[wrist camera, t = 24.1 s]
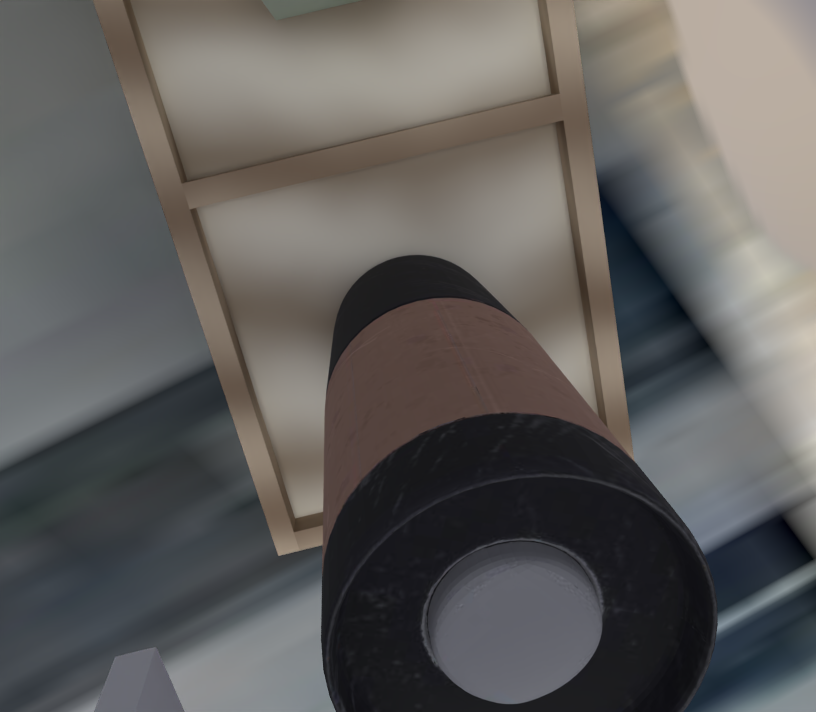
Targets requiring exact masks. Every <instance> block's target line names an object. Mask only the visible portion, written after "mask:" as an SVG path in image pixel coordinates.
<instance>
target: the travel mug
mask: <svg viewBox="0 0 816 712" xmlns="http://www.w3.org/2000/svg"><path fill="white" fill-rule="evenodd" d="M716 632H717V599H716V593H715V587H714V581H713V578H712V575H711V572H710V569H709V566H708V563H707V561H706V558H705V556H704V554H703V552H702V550H701V549H700V547H699V545H698V543H697V541H696V540H695V538H694V536H693V534H692V533H691V531H690V530H689V528H688V527H687V526H686V525H685V523H684V522H683V521H682V519H681V518H680V517H679V516H678V514H677V513H676V512H675V511H674V509H673V508H672V507H671V506H670V504H669V503H668V502H667V501H666V499H665V498H664V497H663V496H662V495H661V493H660V492H659V491H658V490H657V488H656V487H655V486H654V485H653V483H652V482H651V481H650V480H649V479H648V477H647V476H646V475H645V474H644V472H643V471H642V470H641V469H640V467H639V466H638V465H637V464H636V463H635V461H634V460H633V459H632V458H631V456H630V455H629V454H628V453H627V451H626V450H625V449H624V448H623V447H622V445H621V444H620V443H619V442H618V440H617V439H616V438H615V437H614V435H613V434H612V433H611V432H610V431H609V429H608V428H607V427H606V426H605V424H604V423H603V422H602V421H601V419H600V418H599V417H598V416H597V415H596V413H595V412H594V411H593V410H592V408H591V407H590V406H589V405H588V403H587V402H586V401H585V400H584V398H583V397H582V396H581V395H580V394H579V392H578V391H577V390H576V389H575V387H574V386H573V385H572V384H571V382H570V381H569V380H568V379H567V378H566V376H565V375H564V374H563V373H562V371H561V370H560V369H559V368H558V366H557V365H556V364H555V363H554V362H553V360H552V359H551V358H550V357H549V355H548V354H547V353H546V352H545V350H544V349H543V348H542V347H541V345H540V344H539V343H538V342H537V341H536V339H535V338H534V337H533V336H532V334H531V333H530V332H529V331H528V330H527V329H526V328H525V327H524V326H523V325H522V324H521V323H520V322H519V321H518V320H517V319H516V318H515V317H514V316H513V315H512V314H511V313H510V312H509V311H508V310H507V309H506V308H505V307H504V306H503V305H502V304H501V303H500V302H499V301H498V300H497V299H496V298H495V297H494V296H493V295H492V294H491V293H490V292H489V291H488V290H487V289H486V288H485V287H484V286H483V285H482V284H480V283H479V282H478V281H477V280H476V279H475V278H474V277H473V276H472V275H471V274H469V273H468V272H467V271H465V270H464V269H463V268H461V267H459V266H457V265H456V264H454V263H452V262H450V261H447V260H444V259H442V258H438V257H433V256H427V255H407V256H402V257H397V258H393V259H390V260H387V261H385V262H383V263H380V264H378V265H376V266H375V267H373V268H372V269H370V270H368V271H367V272H366V273H365V274H363V275H362V276H361V277H360V278H359V279H358V280H357V281H356V282H355V283H354V284H353V285H352V287H351V288H350V289H349V291H348V292H347V294H346V295H345V297H344V299H343V301H342V303H341V305H340V308H339V311H338V314H337V317H336V322H335V326H334V332H333V340H332V348H331V356H330V365H329V373H328V381H327V389H326V400H325V416H324V487H323V557H322V622H321V643H322V657H323V670H324V675H325V679H326V683H327V687H328V691H329V696H330V698H331V701H332V703H333V705H334V708H335V710H336V712H683V711H684V710H685V709H686V708H687V706H688V705H689V703H690V702H691V700H692V698H693V697H694V695H695V693H696V692H697V690H698V688H699V687H700V685H701V682H702V680H703V678H704V676H705V673H706V671H707V669H708V667H709V663H710V660H711V656H712V653H713V650H714V646H715V639H716Z"/></svg>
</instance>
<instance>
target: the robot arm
mask: <svg viewBox="0 0 816 712" xmlns="http://www.w3.org/2000/svg"><path fill="white" fill-rule="evenodd" d="M94 712H184V710H183V708H182V705H181V703H180V701H179V698H178V696H177V694H176V691H175V689H174V687H173V685H172V682H171V680H170V678H169V675H168V673H167V671H166V668H165V666H164V664H163V662H162V659H161V657H160V655H159V652H158V650H157V648H156V647H153V648H149V649H145V650H141V651H137V652H133V653H129V654H125V655H121V656H117V657H115V659H114V662H113V664H112V667H111V669H110V672H109V674H108V677H107V680H106V682H105V685H104V687H103V690H102V693H101V695H100V698H99V700H98V703H97V706H96V708H95V711H94Z"/></svg>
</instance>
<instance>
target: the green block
mask: <svg viewBox="0 0 816 712" xmlns="http://www.w3.org/2000/svg"><path fill="white" fill-rule="evenodd" d="M357 1H361V0H262V2H263V3H264V5H265V6H266V7H267V9H268V10H269V11H270V13H271V14H272V16H273V17H274V18H275V20H280V19H285V18H289V17H293V16H297V15H302V14H306V13H310V12H314V11H319V10H323V9H327V8H331V7H336V6H340V5H344V4H349V3H353V2H357Z"/></svg>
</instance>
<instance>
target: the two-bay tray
mask: <svg viewBox="0 0 816 712" xmlns="http://www.w3.org/2000/svg"><path fill="white" fill-rule="evenodd" d="M93 2H94V5H95V8H96V11H97V14H98V17H99V20H100V23H101V26H102V29H103V32H104V35H105V38H106V41H107V44H108V47H109V50H110V53H111V56H112V59H113V62H114V65H115V68H116V71H117V74H118V77H119V80H120V83H121V86H122V89H123V92H124V95H125V98H126V101H127V104H128V107H129V110H130V113H131V116H132V119H133V122H134V125H135V128H136V131H137V134H138V137H139V140H140V143H141V146H142V149H143V152H144V155H145V158H146V161H147V164H148V167H149V170H150V173H151V176H152V179H153V182H154V185H155V188H156V191H157V194H158V197H159V200H160V203H161V206H162V209H163V212H164V215H165V218H166V221H167V224H168V227H169V230H170V233H171V236H172V239H173V242H174V245H175V248H176V251H177V254H178V257H179V260H180V263H181V266H182V269H183V272H184V275H185V278H186V281H187V284H188V287H189V290H190V293H191V296H192V299H193V302H194V305H195V308H196V311H197V314H198V317H199V320H200V323H201V325H202V328H203V331H204V334H205V337H206V340H207V343H208V346H209V349H210V352H211V355H212V358H213V361H214V364H215V367H216V370H217V373H218V376H219V379H220V382H221V385H222V388H223V391H224V394H225V397H226V400H227V403H228V406H229V409H230V412H231V415H232V418H233V421H234V424H235V427H236V430H237V433H238V436H239V439H240V442H241V445H242V448H243V451H244V454H245V457H246V460H247V463H248V466H249V469H250V472H251V475H252V478H253V481H254V484H255V487H256V490H257V493H258V496H259V499H260V502H261V505H262V508H263V511H264V514H265V517H266V520H267V523H268V526H269V529H270V532H271V535H272V538H273V541H274V544H275V547H276V550H277V553H278V556H280V555H284V554H288V553H292V552H296V551H300V550H304V549H308V548H312V547H316V546H320V545H323V487H324V416H325V400H326V389H327V381H328V373H329V365H330V356H331V348H332V340H333V332H334V326H335V322H336V317H337V314H338V311H339V308H340V305H341V303H342V301H343V299H344V297H345V295H346V294H347V292H348V291H349V289H350V288H351V287H352V285H353V284H354V283H355V282H356V281H357V280H358V279H359V278H360V277H361V276H362V275H363V274H365V273H366V272H367V271H368V270H370V269H372V268H373V267H375V266H376V265H378V264H380V263H383V262H385V261H387V260H390V259H393V258H397V257H402V256H407V255H427V256H433V257H438V258H442V259H444V260H447V261H450V262H452V263H454V264H456V265H457V266H459V267H461V268H463V269H464V270H465V271H467V272H468V273H469V274H471V275H472V276H473V277H474V278H475V279H476V280H477V281H478V282H479V283H480V284H482V285H483V286H484V287H485V288H486V289H487V290H488V291H489V292H490V293H491V294H492V295H493V296H494V297H495V298H496V299H497V300H498V301H499V302H500V303H501V304H502V305H503V306H504V307H505V308H506V309H507V310H508V311H509V312H510V313H511V314H512V315H513V316H514V317H515V318H516V319H517V320H518V321H519V322H520V323H521V324H522V325H523V326H524V327H525V328H526V329H527V330H528V331H529V332H530V333H531V334H532V336H533V337H534V338H535V339H536V341H537V342H538V343H539V344H540V345H541V347H542V348H543V349H544V350H545V352H546V353H547V354H548V355H549V357H550V358H551V359H552V360H553V362H554V363H555V364H556V365H557V366H558V368H559V369H560V370H561V371H562V373H563V374H564V375H565V376H566V378H567V379H568V380H569V381H570V382H571V384H572V385H573V386H574V387H575V389H576V390H577V391H578V392H579V394H580V395H581V396H582V397H583V398H584V400H585V401H586V402H587V403H588V405H589V406H590V407H591V408H592V410H593V411H594V412H595V413H596V415H597V416H598V417H599V418H600V419H601V421H602V422H603V423H604V424H605V426H606V427H607V428H608V429H609V431H610V432H611V433H612V434H613V435H614V437H615V438H616V439H617V440H618V442H619V443H620V444H621V445H622V447H623V448H624V449H625V450H626V451H627V453H628V454H629V455H630V456H631V458H632V459H633V460H634V455H633V448H632V440H631V432H630V425H629V417H628V410H627V402H626V395H625V387H624V380H623V372H622V365H621V357H620V350H619V342H618V334H617V327H616V319H615V312H614V304H613V297H612V289H611V282H610V274H609V267H608V259H607V252H606V244H605V236H604V229H603V221H602V214H601V206H600V199H599V191H598V184H597V176H596V169H595V161H594V154H593V146H592V138H591V131H590V123H589V116H588V108H587V101H586V93H585V86H584V78H583V71H582V63H581V56H580V48H579V40H578V33H577V25H576V18H575V10H574V3H573V0H361V1H357V2H353V3H349V4H344V5H340V6H336V7H331V8H327V9H323V10H319V11H314V12H310V13H306V14H302V15H297V16H293V17H289V18H285V19H280V20H275V18H274V17H273V16H272V14H271V13H270V11H269V10H268V9H267V7H266V6H265V5H264V3H263V2H262V0H93Z"/></svg>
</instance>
